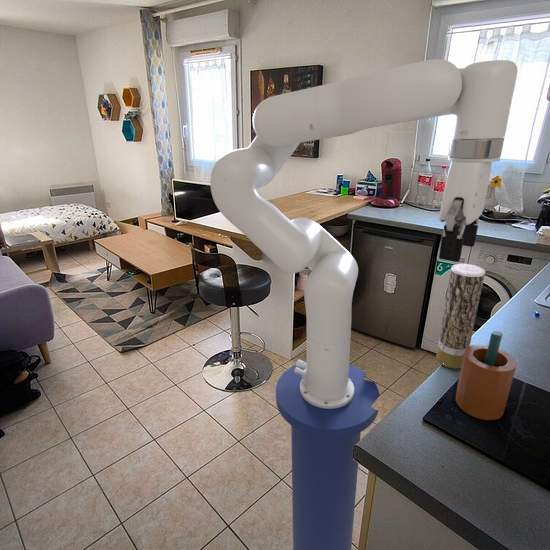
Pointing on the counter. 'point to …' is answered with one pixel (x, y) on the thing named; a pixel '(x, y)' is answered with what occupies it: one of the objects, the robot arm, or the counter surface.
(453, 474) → the counter surface
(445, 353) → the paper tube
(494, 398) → the orange hollow cylinder
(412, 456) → the counter surface
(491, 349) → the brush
